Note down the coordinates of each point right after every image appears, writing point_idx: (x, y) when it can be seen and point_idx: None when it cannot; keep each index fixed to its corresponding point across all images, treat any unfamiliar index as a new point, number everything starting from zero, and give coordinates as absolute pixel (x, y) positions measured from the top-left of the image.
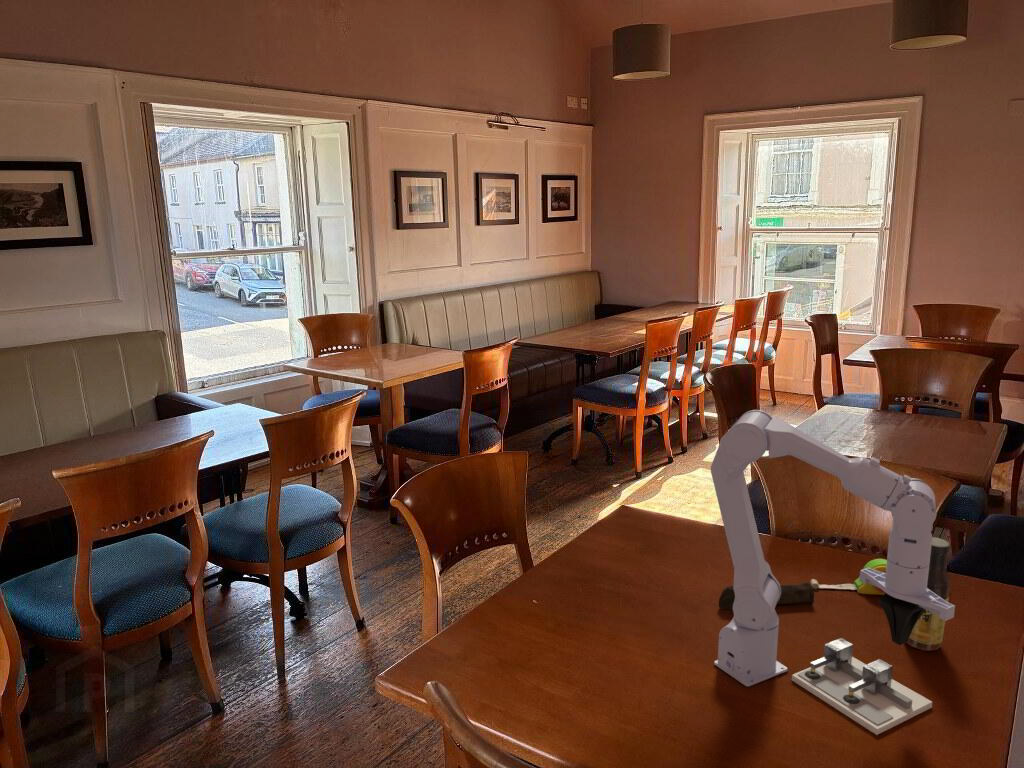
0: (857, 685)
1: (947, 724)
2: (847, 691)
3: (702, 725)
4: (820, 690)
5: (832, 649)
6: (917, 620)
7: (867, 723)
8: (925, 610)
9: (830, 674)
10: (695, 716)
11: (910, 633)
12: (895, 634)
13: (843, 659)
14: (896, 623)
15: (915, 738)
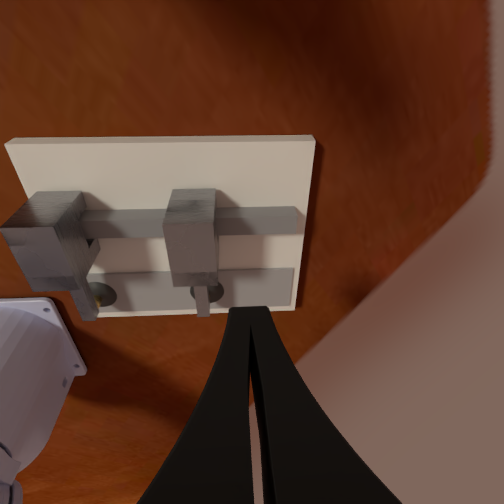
0: (206, 304)
1: (369, 163)
2: None
3: (151, 432)
4: (152, 310)
5: (63, 288)
6: (316, 403)
7: (273, 310)
8: (380, 482)
9: (104, 258)
10: (131, 431)
11: (277, 335)
12: (249, 383)
13: (83, 239)
14: (261, 455)
15: (342, 257)
